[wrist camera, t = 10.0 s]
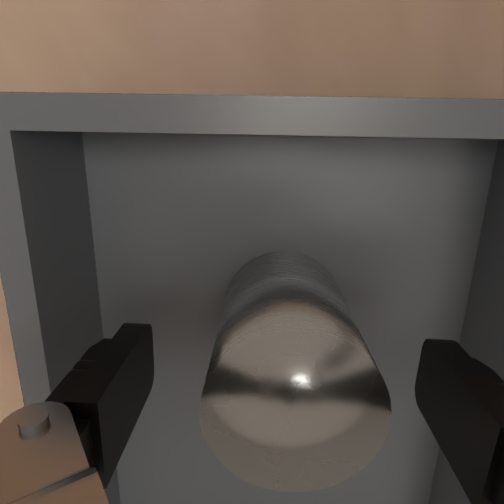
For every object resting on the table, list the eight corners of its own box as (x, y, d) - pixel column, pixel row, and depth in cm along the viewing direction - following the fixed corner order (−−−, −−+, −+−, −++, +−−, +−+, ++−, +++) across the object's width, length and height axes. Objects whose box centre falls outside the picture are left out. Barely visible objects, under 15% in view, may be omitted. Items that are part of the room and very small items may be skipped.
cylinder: (225, 249, 16) (196, 328, 9) (344, 252, 16) (403, 334, 9) (225, 354, 17) (201, 488, 11) (335, 357, 17) (380, 496, 11)
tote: (61, 106, 15) (-33, 91, 10) (520, 113, 15) (644, 101, 10) (113, 550, 22) (70, 665, 17) (428, 564, 22) (475, 686, 17)
